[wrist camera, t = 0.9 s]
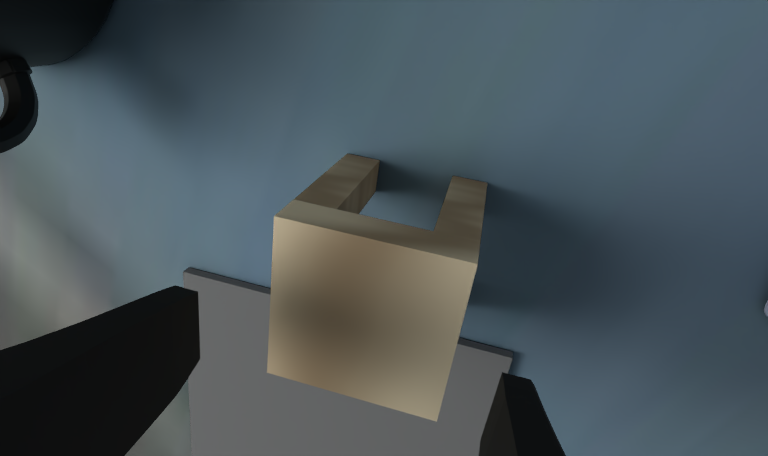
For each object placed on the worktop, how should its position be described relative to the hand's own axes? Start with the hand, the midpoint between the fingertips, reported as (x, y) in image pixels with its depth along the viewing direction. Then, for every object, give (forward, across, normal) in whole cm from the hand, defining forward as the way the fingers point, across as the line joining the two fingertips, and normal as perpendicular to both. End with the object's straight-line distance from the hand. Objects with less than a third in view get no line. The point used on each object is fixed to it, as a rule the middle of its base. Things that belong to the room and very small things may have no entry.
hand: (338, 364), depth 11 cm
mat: (+8, +2, +11) cm, 14 cm away
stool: (+8, 0, 0) cm, 8 cm away
